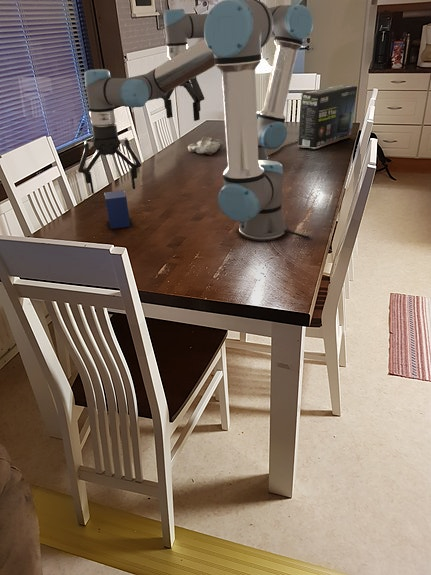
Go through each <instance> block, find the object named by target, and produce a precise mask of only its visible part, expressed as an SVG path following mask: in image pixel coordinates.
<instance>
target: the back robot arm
mask: <svg viewBox="0 0 431 575" xmlns="http://www.w3.org/2000/svg"><path fill="white" fill-rule="evenodd" d="M268 8H269V10H270V11H271V14H272V17H273V31H272V35H271V37H270V38H274V39H273V42H274V45H275V47H276V48H275V52H274V56H273V62H272V65H271V66H272V67H271V70H270V75H269V80H268V85H267V90H266V95H265V98H264V103H263V108H262V110H260V111H257V131H258V160H269V157H270V156H273V155H275V154H277V153H279V152H280V150H281V149H279V150H278V148H279V147H281V146H282V145H284V144H285V141H286V139H287V137H288V129H287V126H286V125H285V122H286V116H285V114H284V112H285V106H286V102H287V98H288V92H289V90H290V85H291V80H292V76H293V73H294V72H293V71H294V68H295V63H296V59H297V55H298V52H299V50H300V49H301V48H303V47H304V46H303V45H304V41H305V39H307V38H308V36H310V34H311V33H312V31H313V27H314V19H313V15H312V13H311V10H310V9H309V8H308V6H305V5H303V4H298V3H297V4H296V3H294V4H283V5H281V4H280V5H276V6H271V7H268ZM208 14H209V13H192V14H187V13H186V10H185V9H184V8H176V9H166V10H164V12H163V22H164V24H163V26H164V31H165V32H164V33H165V40H166V52H167V58H168V60H170V59H172V58H173V57H175V56H177V55H178V54H180V53H182V52H183V51H185V50H186V49H188V48H189V46H188V40H191V39H205V37H204V26H205V21H206V18H207V16H208ZM179 87H183V88H184V89H185V90H186V91H187V93H188V94H189V96H190V98H191V99H192V100H193V102H192V113H193V122H197V121H200V119H201V118H200V112H201V102H202V101H204V100H205V96H204V93H203V91H202V88H201V87H200V84H199V81H198V79H197V76H196V77H194V78H192V79H191V80H189V81H187V82H185V83H183V84H181V85H180V86H179ZM175 89H176V88H174V89H172V90H170V91H169V92H168V93H167V94H166V95H165V96H163V97H161V98H160V99H162V100H163V103H164V105H163V106H164V109H165V114H166V119H171V118H173V117H174V115H173V106H172V105H173V104H172V99H171V96H172V94H173V92H174V91H175ZM266 149H267V150H275V151H276V152H275V151H273V152H274V153H273V152H271V153H272V154H271V153H269V154H270V155H268V156H267V154H268V153H267V150H266ZM277 150H278V151H277Z"/></svg>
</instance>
